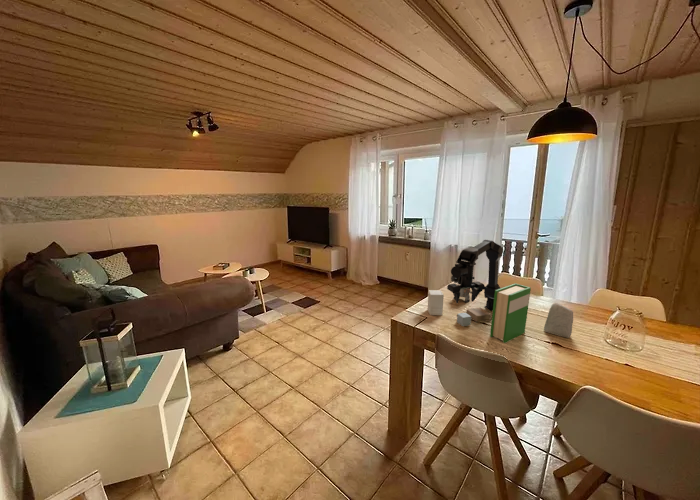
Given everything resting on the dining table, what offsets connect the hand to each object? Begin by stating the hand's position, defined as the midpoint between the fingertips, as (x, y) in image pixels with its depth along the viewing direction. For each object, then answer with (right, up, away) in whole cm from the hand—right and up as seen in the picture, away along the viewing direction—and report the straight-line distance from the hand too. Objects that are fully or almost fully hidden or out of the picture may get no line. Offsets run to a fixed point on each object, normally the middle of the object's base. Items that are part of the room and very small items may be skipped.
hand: (464, 302), depth 149 cm
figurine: (+13, -5, +34) cm, 37 cm away
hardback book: (+17, -15, -9) cm, 25 cm away
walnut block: (+11, -11, +9) cm, 18 cm away
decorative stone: (+42, -14, -9) cm, 45 cm away
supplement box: (-11, -9, +16) cm, 21 cm away
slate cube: (0, -12, +2) cm, 12 cm away
